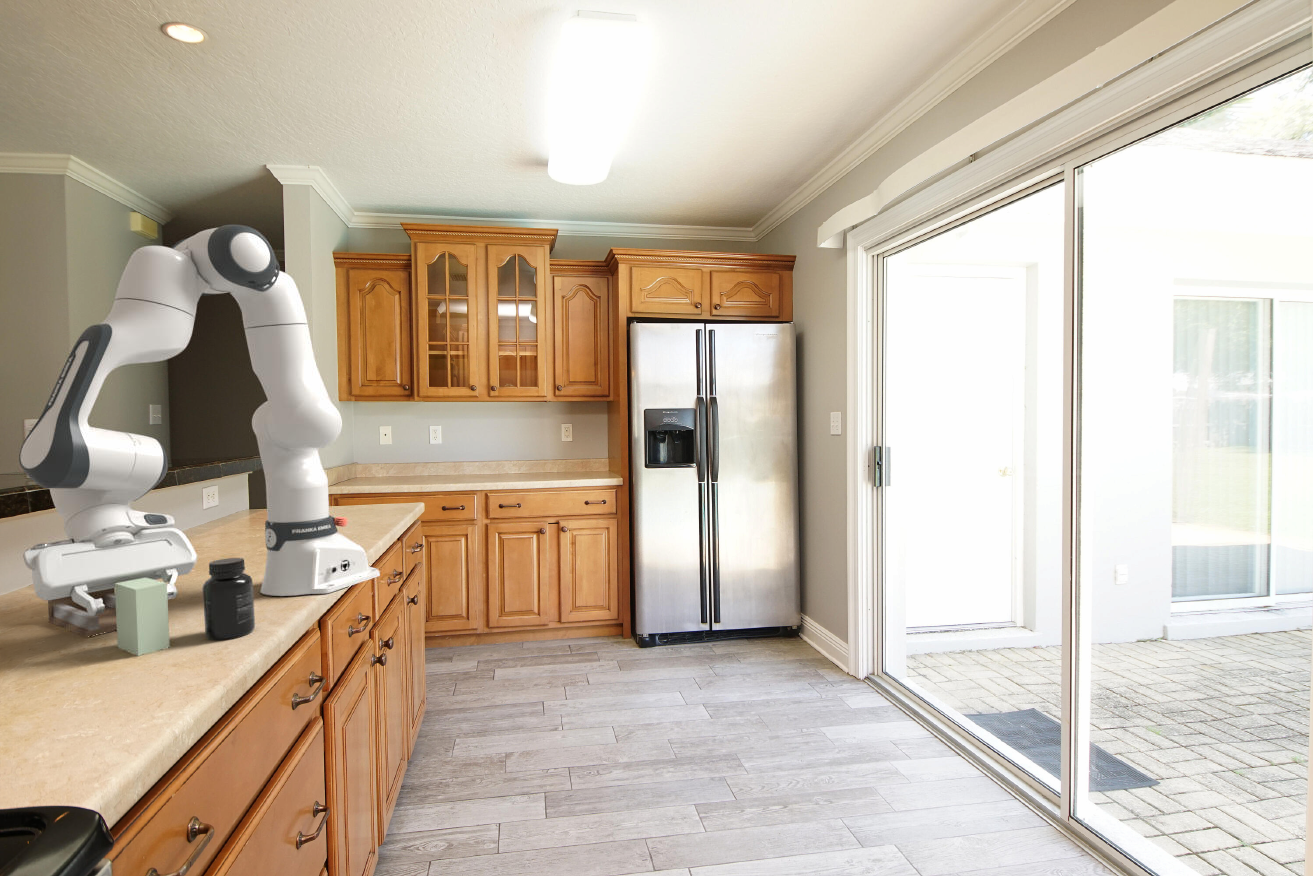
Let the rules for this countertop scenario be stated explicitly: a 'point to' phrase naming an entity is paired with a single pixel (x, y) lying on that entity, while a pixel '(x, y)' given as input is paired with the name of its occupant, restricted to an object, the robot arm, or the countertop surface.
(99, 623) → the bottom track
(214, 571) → the supplement bottle
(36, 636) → the countertop surface
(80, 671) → the countertop surface
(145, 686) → the countertop surface
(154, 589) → the pale green block
